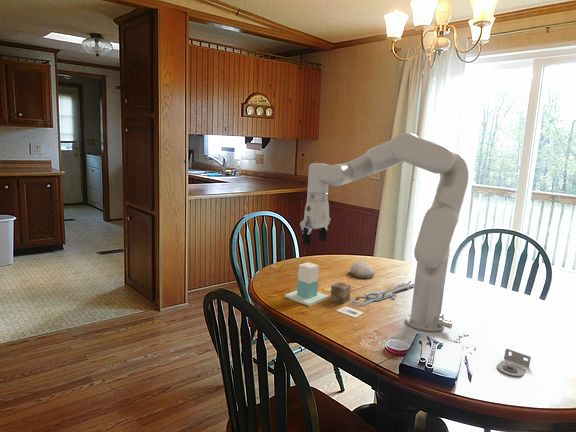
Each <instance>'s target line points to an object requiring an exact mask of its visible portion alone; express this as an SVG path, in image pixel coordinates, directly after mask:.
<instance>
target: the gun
mask: <svg viewBox="0 0 576 432" xmlns="http://www.w3.org/2000/svg"><path fill="white" fill-rule="evenodd" d="M414 283H415V282H413V283H412V280H410V281H408V282H407V283H406V282H405V283H404V282H403V283H402V282H401V283H400V284H396V285H394V286H391V287H389V288H385V289H382V290H375V291H370V292H368V293H365V294H364V296H356V297H355V298H350V300H349V304H350V305H353V306H367V305H369V304H372V303H375V302H376V303H378V302H382V301H384V300H387V299H389V298H391V299H392V300H391V301H394V300H395V298H396V297H397V295H398V294H397V293H399V292H402V291H405V290H407V291H408V290H409V289H411V288H414ZM360 299H363V300H364V299H365V300H364V301H363V302H361V303H357V302H356V301H359V300H360Z"/></svg>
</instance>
